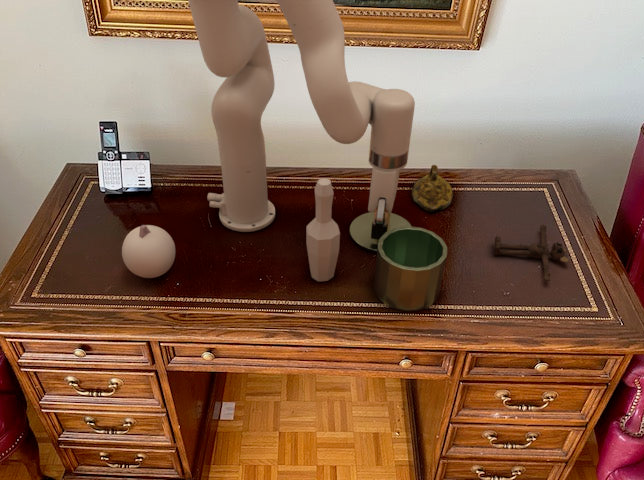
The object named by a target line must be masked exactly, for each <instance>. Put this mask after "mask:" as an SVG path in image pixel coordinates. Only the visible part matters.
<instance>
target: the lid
mask: <svg viewBox="0 0 644 480" xmlns="http://www.w3.org/2000/svg"><path fill="white" fill-rule="evenodd" d="M377 210H378V207H377ZM384 211H387V209H386V208H384ZM390 214H391V215H390ZM390 214H388V218H387V224H388V228H387V232H388V231H390V230H392V229H395V228H399V227H407V226H410V227H413V226H412V225H411V223H410V222H409V221H408V220H407V219H406V218H404V217H402V216H401V215H398V214H397V213H394V212H393V213H392V212H391V213H390ZM383 219H384V220H385V214H383ZM373 220H374V212H369V211H368V212H365V213H363V214H360V215H359V216H357V217H355V218H354V219H353V220H352V222H351V224H350V226H349V236H350V238H351V239H352V241H353V242H354V243H355V244H356V245H357V246H358V247H360V248H362V249H363V250H367V251H370V252H374V253H377V250H378V243H379V240H377V239H372V238H371V230H372V222H373Z"/></svg>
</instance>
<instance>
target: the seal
mask: <svg viewBox="0 0 644 480" xmlns="http://www.w3.org/2000/svg"><path fill="white" fill-rule="evenodd" d="M438 169H439V168H438V165H436V164H432V165H431V167H430V171H429V174H426V175H424V176H422V177H421V178H418V180H417V181H415V182H414V184H413V186H412V189H411V198H412V200H413V202H414V203H415V204H416V205H417V206H419V207H420V208H421V209H423V210H424V211H425V212H429V213H434V212H437V211H439V210H440V211H443V210H445V209H446V208H448V207H449V206H450V205H451V203H452V200H453V198H454V197H453V194H454V193H453V189H452V186H451V184H450V183H449V182H448V181H447V180H446V179H445V178H443V177H442V176H441V175H439V173H438Z"/></svg>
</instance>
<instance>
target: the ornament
mask: <svg viewBox="0 0 644 480" xmlns="http://www.w3.org/2000/svg"><path fill="white" fill-rule="evenodd" d="M121 256H122V261H123V263H124V265H125V266H126V268H127V269H128V270H129V271H130V272H131V273H133V274H134V275H136V276H137V277H140V278H144V279H155V278H159V277H160V276H163V275H164V274H166V273H167V272H168V271H169V270H170V269H171V267H172V266H173V264H174V262H175V259H176V244H175V241H174V240H173V237H172V236H171V235H170V234H169V233H168V231H166V230H165V229H163V228H161V227H159V226H156V225H152V224H141V225H140V226H137V227H135V228H134V229H132V230H130V231H129V233H127V235H126V236H125V238H124V239H123V242H122V246H121Z"/></svg>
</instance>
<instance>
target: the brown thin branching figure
mask: <svg viewBox="0 0 644 480" xmlns="http://www.w3.org/2000/svg"><path fill="white" fill-rule="evenodd" d="M547 228H548V227H547V225H545V224H541V225H539V230H540V243H539V242H532V243H530V244H529V245H523V244H508V243H507V244H506V243H501V242H502V241H501V239H502V238H501V237H500V236H499V235H496V236H495V238H494V247H493V248H494V249H493V250H494V251H493V252H494V253H493V254H494V256H500V255H501V256H509V257H510V256H511V257H512V256H517V257H518V256H519V257H529V258H532V259H541V262H542V268H543V281H544V282H550V281H551V272H550V265H549V262H550V261H549V256H550V257H551V259H552V260H553V261H555V262H562V263H565V264H566V263H569V262H570V259H569V258H568V257H567V256H566V253H568V249H567V248H566V247H563V244H562V243H559V242H558V241H557V242H554V243H553V244H552V245H551V249H550V251H549V247H548V246H549V245H548V241H547Z"/></svg>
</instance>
